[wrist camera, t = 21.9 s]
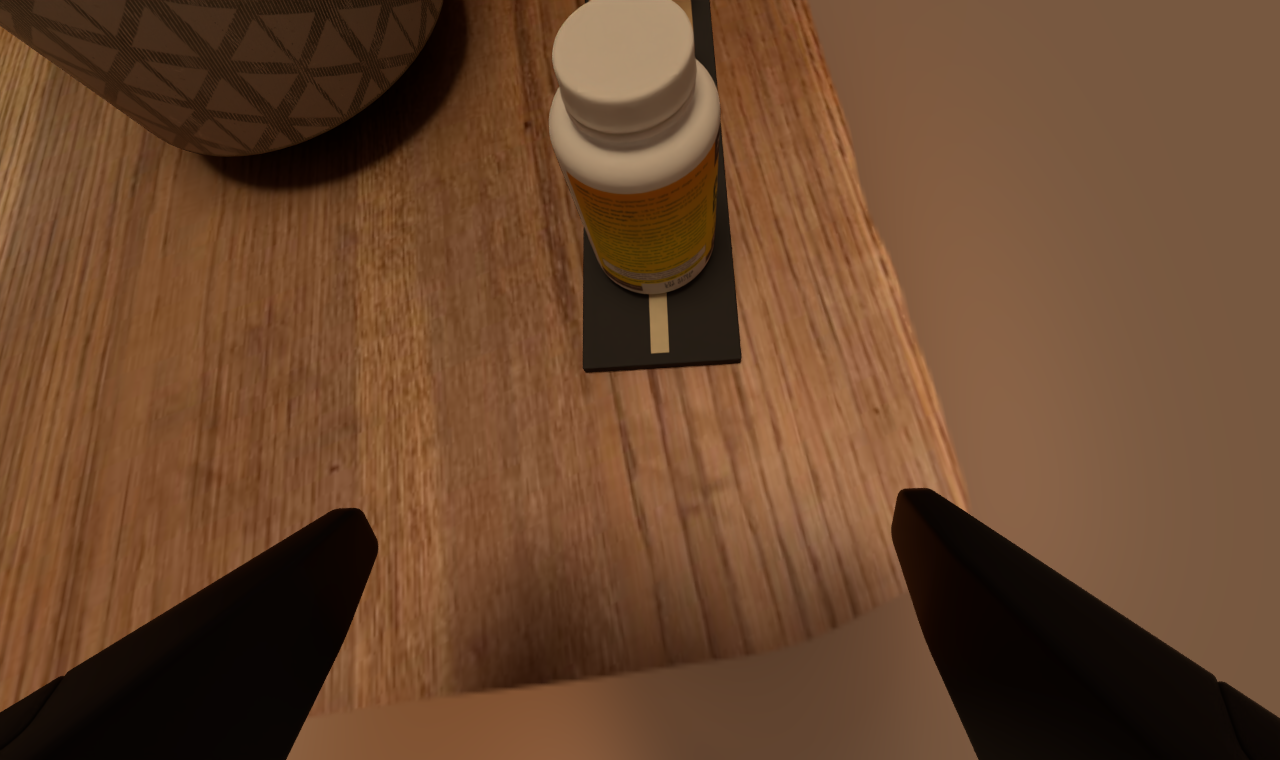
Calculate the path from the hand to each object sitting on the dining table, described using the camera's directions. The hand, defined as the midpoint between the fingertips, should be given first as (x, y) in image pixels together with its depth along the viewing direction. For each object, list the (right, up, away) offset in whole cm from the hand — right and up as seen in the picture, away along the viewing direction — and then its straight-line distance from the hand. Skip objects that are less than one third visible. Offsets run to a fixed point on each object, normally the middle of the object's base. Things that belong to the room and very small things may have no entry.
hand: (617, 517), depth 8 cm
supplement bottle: (+1, +9, +15) cm, 17 cm away
